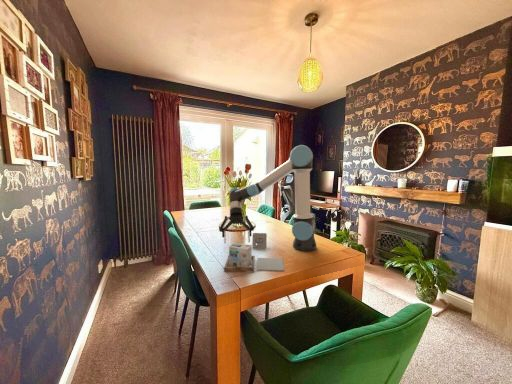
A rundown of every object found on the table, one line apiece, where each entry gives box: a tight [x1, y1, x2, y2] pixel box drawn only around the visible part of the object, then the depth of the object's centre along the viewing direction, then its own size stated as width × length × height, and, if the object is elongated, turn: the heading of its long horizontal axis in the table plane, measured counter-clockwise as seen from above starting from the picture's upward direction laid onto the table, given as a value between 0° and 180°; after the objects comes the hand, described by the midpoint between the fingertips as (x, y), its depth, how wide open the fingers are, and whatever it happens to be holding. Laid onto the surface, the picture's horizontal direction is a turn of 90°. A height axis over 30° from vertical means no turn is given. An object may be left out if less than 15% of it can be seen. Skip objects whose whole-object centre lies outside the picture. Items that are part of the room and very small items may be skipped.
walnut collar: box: [223, 255, 256, 273], centre depth 115 cm, size 15×15×2 cm
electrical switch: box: [252, 232, 268, 249], centre depth 141 cm, size 9×5×9 cm, turn 86°
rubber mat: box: [256, 257, 285, 272], centre depth 116 cm, size 14×14×1 cm
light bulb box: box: [228, 242, 253, 267], centre depth 114 cm, size 11×7×11 cm, turn 70°
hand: (237, 242), depth 120 cm, fingers open, 13 cm apart
